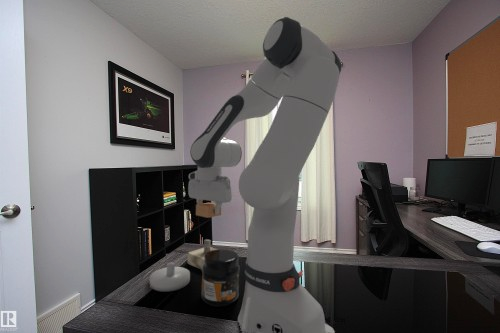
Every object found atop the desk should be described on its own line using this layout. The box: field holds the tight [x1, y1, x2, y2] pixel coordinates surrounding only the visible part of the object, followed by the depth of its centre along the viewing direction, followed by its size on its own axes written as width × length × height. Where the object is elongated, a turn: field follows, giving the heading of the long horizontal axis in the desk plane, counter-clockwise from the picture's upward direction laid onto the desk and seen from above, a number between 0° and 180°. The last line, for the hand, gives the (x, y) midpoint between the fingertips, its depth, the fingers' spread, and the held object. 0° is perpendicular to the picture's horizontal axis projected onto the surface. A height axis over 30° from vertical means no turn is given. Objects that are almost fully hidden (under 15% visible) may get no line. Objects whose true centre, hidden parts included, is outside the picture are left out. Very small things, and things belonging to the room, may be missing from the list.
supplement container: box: [201, 248, 241, 308], centre depth 66 cm, size 10×10×12 cm
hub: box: [149, 261, 191, 292], centre depth 74 cm, size 12×12×6 cm
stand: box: [187, 239, 217, 271], centre depth 89 cm, size 10×10×8 cm
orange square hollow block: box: [195, 202, 222, 219], centre depth 89 cm, size 7×7×4 cm
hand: (208, 212), depth 89 cm, fingers closed on orange square hollow block, 7 cm apart
